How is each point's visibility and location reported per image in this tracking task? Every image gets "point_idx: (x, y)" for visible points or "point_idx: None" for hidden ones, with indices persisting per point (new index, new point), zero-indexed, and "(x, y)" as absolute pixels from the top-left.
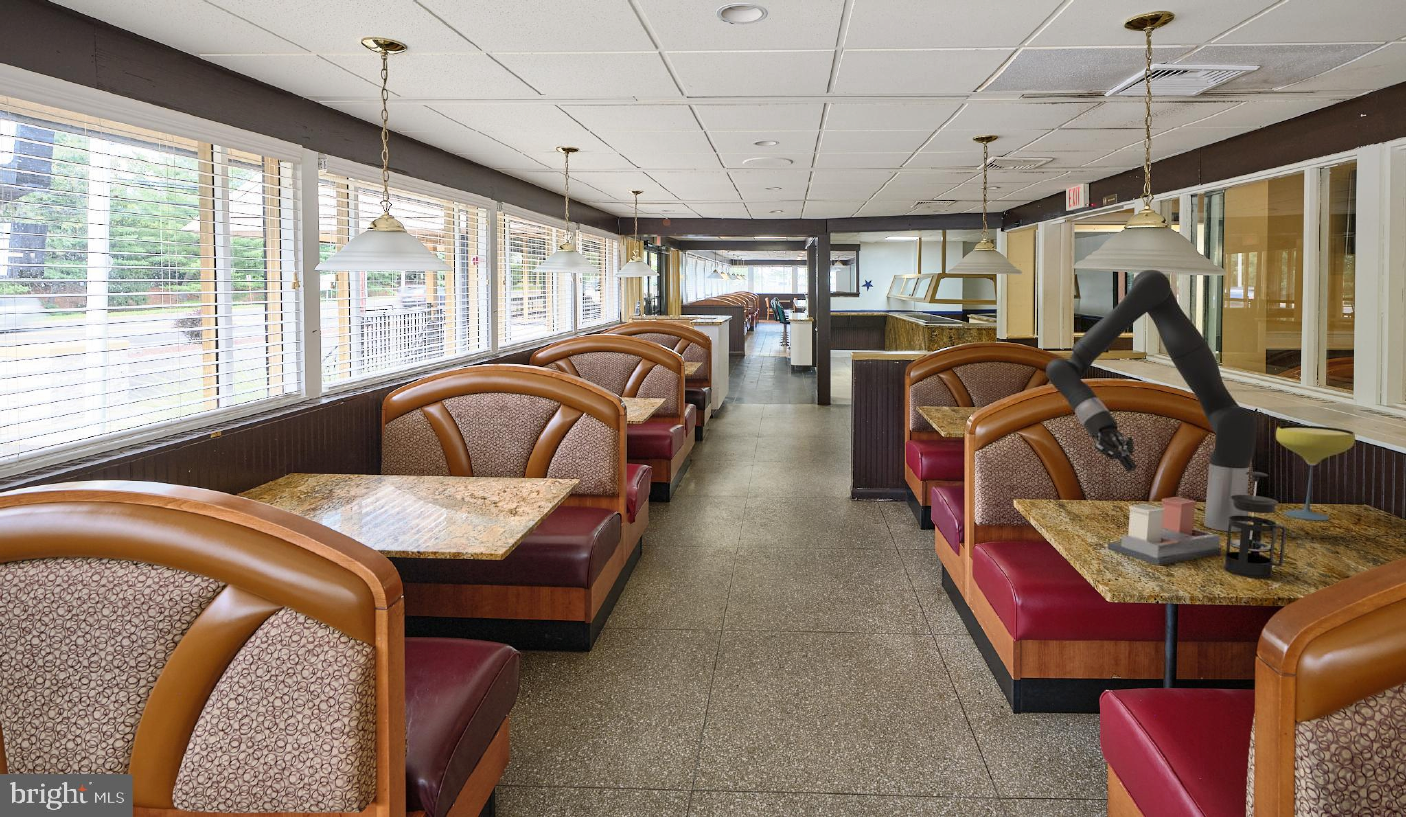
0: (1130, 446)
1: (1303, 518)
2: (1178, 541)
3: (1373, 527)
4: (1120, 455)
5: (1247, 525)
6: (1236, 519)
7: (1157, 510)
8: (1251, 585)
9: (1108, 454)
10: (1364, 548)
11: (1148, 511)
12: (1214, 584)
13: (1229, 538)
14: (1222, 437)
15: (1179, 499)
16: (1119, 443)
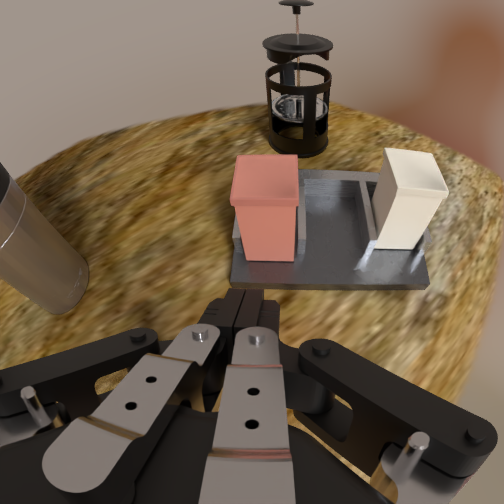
0: (92, 356)
1: None
2: (357, 174)
3: None
4: (284, 351)
5: (327, 71)
6: (292, 91)
7: (406, 150)
8: (344, 121)
9: (348, 420)
10: (69, 160)
11: (431, 155)
12: (385, 136)
13: (307, 118)
14: None
15: (255, 179)
16: (175, 418)
